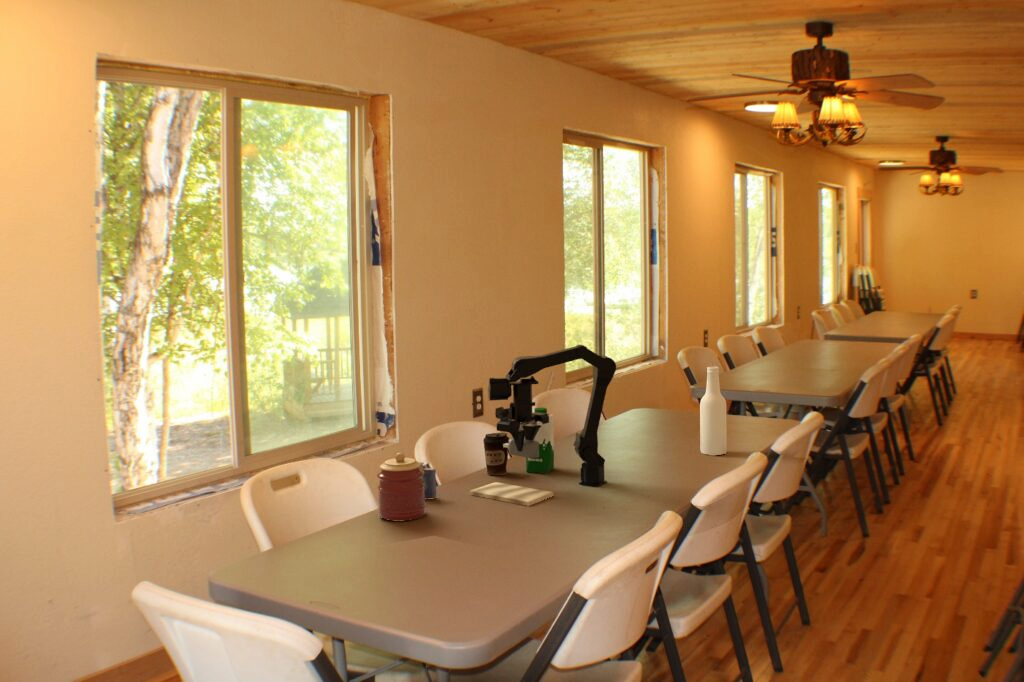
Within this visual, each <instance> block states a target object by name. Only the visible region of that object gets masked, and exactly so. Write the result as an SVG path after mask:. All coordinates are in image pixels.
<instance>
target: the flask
mask: <svg viewBox="0 0 1024 682" xmlns="http://www.w3.org/2000/svg"><path fill="white" fill-rule="evenodd" d="M420 463H421V466H420V469H422V470H423V471H424V475H423V482H424V483H425V486H424V491H425V498H437V482H436V481H437V480H436V479H437V477H436V472H437V471H436V468H434V467H423V466H424V463H425V462H422V461H421V462H420Z"/></svg>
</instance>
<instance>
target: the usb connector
mask: <svg viewBox="0 0 1024 682" xmlns="http://www.w3.org/2000/svg"><path fill="white" fill-rule="evenodd" d="M503 447H506V448H508V455H511V456H516V457H522V458H526V457H527V458H538V457H539V442H538V441H532V440H525V438H524V443H523V448H522V451H521V452H519V451H518V450H517V447H516V444H515V442H514V439H513V437H512V438H509V443H506V444H503Z"/></svg>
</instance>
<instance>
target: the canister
mask: <svg viewBox="0 0 1024 682" xmlns="http://www.w3.org/2000/svg"><path fill="white" fill-rule="evenodd" d="M420 466H421V462H420V461H418V460H416V459H414V458H412V457H406V456H405V454H404V453H403V452H397V453H396V454H395V456H394V458H390V459H387V460H385V461H384V462H383V463H382V464H380V465H379V469H380V471H379V472H378V473H377V475H376V477H377V479H378V482H379V483H378V485H377V490H378V514H379V517H380V516H381V517H382V518H384V519H389V520H409V521H411V520H410V519H414V520H418V519H421V518H422V517H424V516H426V515H425V514H426V510H427V508H426V507H427V505H426V499H425V491H424V486H425V483H424V482H423V475H424V471H423V470H422V469H420ZM423 515H424V516H423ZM381 517H380V518H381ZM420 517H421V518H420ZM382 518H381V519H382ZM417 518H418V519H417ZM384 519H383V520H384Z"/></svg>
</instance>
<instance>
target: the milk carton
mask: <svg viewBox="0 0 1024 682" xmlns="http://www.w3.org/2000/svg"><path fill="white" fill-rule="evenodd" d="M534 412H538V413H547V415H548V416H549V423H546V424H542V422H539V421H538V422H537V423H538V425H541V428H539V430H538V432H537V434H536V436H535V438H534V440H533V441H538V442H539V457H538V458H527V457H525V468H526V469H525V471H528V472H527V473H534V472H539V474H548V473H549V472H551V471H552V470H553V469H554V468H555V467H554V466H555V464H554V463H555V442H554V441H555V440H554V439H555V436H554V435H555V433H554V413H553V414H550V413H548V409H547V408H546V407H536V408H534ZM547 472H548V473H547Z"/></svg>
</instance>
